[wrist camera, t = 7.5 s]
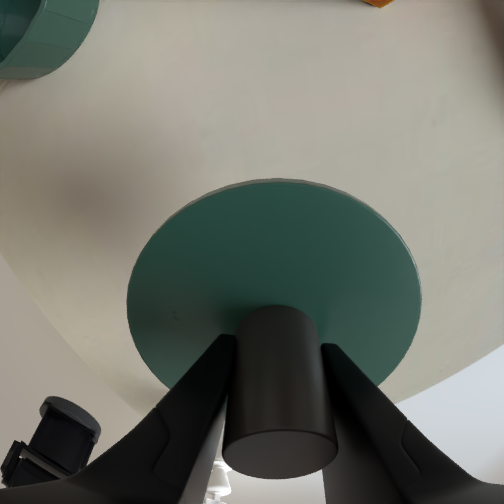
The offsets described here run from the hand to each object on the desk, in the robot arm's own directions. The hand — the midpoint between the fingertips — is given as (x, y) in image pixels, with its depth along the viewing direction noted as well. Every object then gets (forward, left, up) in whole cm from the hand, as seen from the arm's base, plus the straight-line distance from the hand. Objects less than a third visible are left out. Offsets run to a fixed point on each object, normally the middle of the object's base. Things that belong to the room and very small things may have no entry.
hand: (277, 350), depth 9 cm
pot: (-20, +3, -10) cm, 22 cm away
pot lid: (0, 0, -1) cm, 1 cm away
